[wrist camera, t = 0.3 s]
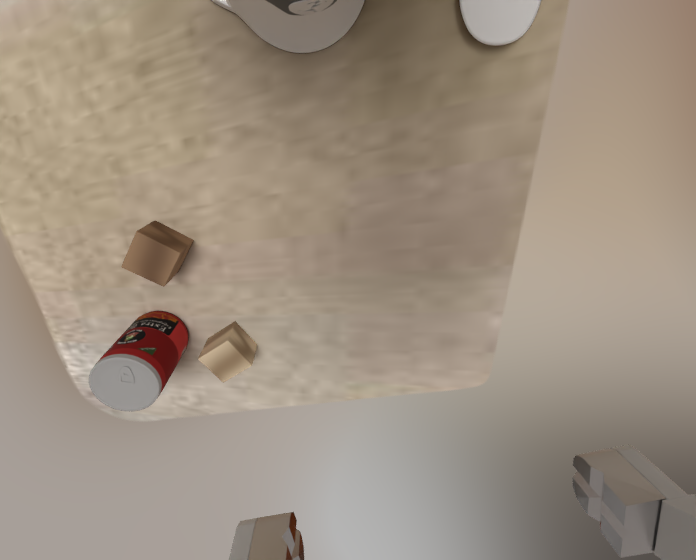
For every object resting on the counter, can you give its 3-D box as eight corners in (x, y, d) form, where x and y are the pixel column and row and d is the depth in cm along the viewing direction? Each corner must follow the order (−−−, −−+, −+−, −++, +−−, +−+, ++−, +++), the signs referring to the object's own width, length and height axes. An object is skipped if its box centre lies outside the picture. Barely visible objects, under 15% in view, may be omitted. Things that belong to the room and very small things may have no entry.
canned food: (182, 306, 48) (148, 353, 38) (196, 353, 51) (168, 408, 41) (125, 311, 48) (76, 361, 38) (143, 358, 51) (102, 415, 41)
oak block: (208, 338, 51) (198, 358, 46) (235, 320, 50) (227, 340, 45) (230, 360, 53) (223, 382, 48) (257, 344, 52) (251, 365, 47)
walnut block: (140, 252, 45) (121, 267, 40) (155, 220, 43) (136, 231, 39) (178, 270, 46) (164, 286, 42) (193, 240, 45) (180, 253, 40)
